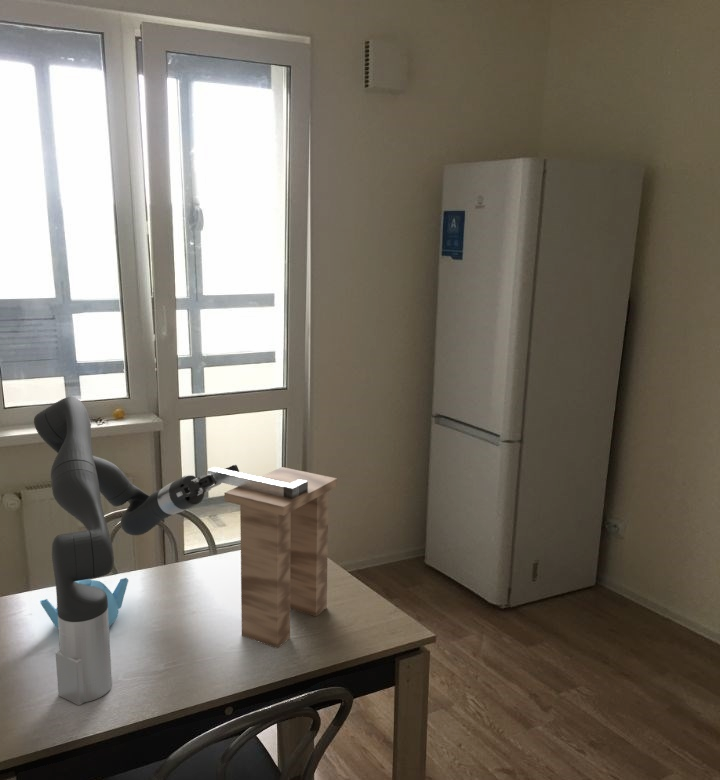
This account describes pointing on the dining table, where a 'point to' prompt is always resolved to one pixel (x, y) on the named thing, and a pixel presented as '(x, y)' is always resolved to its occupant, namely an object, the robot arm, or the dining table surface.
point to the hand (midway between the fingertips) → (225, 473)
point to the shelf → (282, 554)
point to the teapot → (113, 598)
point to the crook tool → (260, 483)
